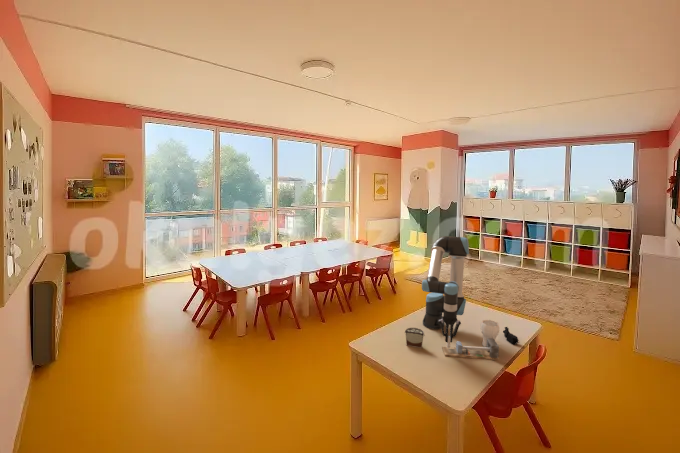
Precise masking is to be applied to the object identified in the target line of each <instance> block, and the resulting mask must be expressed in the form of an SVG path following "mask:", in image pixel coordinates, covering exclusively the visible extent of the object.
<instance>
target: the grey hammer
mask: <svg viewBox="0 0 680 453" xmlns="http://www.w3.org/2000/svg"><path fill="white" fill-rule="evenodd" d="M455 348H456V350H457V353H462V349H466V354H467V355H468V353H467V352H468V350H484V351H490V347H484V346H471V345H463V344H462V342H461V341H458V340H457V341H456V342H455ZM467 349H468V350H467Z"/></svg>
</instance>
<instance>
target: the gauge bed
mask: <svg viewBox="0 0 680 453" xmlns="http://www.w3.org/2000/svg"><path fill="white" fill-rule="evenodd" d="M486 347H490V351H484V350H468V349H467V350H468V351H469V352H470V355H467V354H466V349H462V353H457V350H456V347H452V346H450V348H447V346H441V349H442V353H443V355H444V357H454V358H465V359H466V358H467V359H481V360H485V359H486V360H499V350H500V346H499V344H498V343H497V342H496V339H495V340H494V339H487V343H486ZM467 353H468V352H467Z"/></svg>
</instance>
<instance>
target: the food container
mask: <svg viewBox="0 0 680 453" xmlns="http://www.w3.org/2000/svg"><path fill="white" fill-rule="evenodd" d="M404 330H405V331H404V333H405V340H406V342H405V343H406V344H405V345H406V346H408V347H413V348H420V349H422V348H423V341H424V337H425V336H426V335H425V331H424V330H422V329H421V328H418V327H407V328H406V329H404Z"/></svg>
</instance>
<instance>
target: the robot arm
mask: <svg viewBox="0 0 680 453" xmlns="http://www.w3.org/2000/svg"><path fill="white" fill-rule="evenodd" d="M469 247H470V246H469V239H468V238H467V237H463V236H448V235H445V236H444V235H443V236H441V237H439V238H437V239H436V240H434V242H433V243H432V245H431V246H430V253H431V255H430V260H429V264H428V270H427V274H426V279H422V281H421V290H422V291H423V292H427V293H428V294H426V297H425V298H426V299H425V313H424V316H423V319H422V325H423V326H424V327H425V328H428V329H431V330H441V333H442V336H443V337H444V338H445V343H446V347H447V348H450V347H451V343H453V338H456V336H457V335H458V334H457V333H458V331H459V327H460V326H461V324H462V323H461V320H459V319H458V317H457V316H463V315H464V313H465V307H466V304H467V303H466V302H467V299H466V298H465V295H464V294H463V284H464V268H465V259H466V258H467V256H468V255H469V254H470V250H469V249H470V248H469ZM445 253H446V254H448V256H449V257H450V271H449V281H448V282H447V281H441V280H440V274H441V267H442V263H443V256H444V255H445ZM454 325H455V327H454Z"/></svg>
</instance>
